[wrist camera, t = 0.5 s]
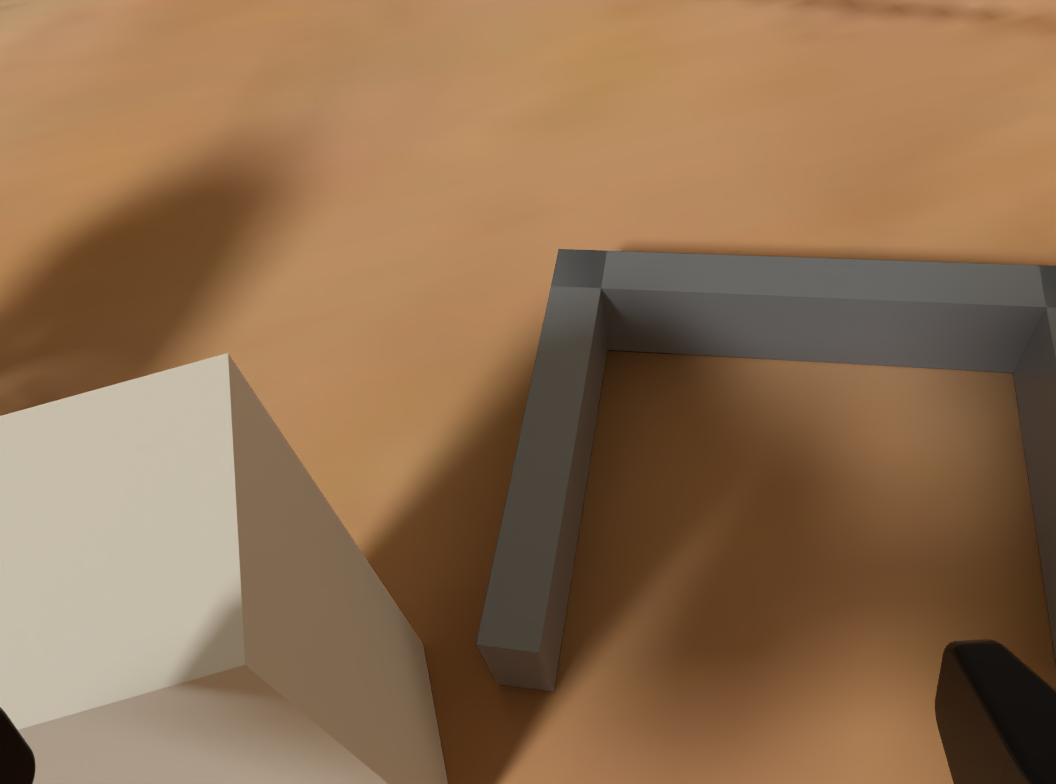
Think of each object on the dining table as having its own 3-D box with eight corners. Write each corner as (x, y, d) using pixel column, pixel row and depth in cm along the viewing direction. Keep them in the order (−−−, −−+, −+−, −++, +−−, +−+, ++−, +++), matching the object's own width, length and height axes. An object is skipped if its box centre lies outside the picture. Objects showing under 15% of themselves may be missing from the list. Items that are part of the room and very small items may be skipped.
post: (458, 842, 22) (245, 665, 11) (253, 902, 21) (-162, 781, 11) (423, 644, 24) (227, 352, 14) (242, 695, 24) (-94, 441, 14)
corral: (1143, 773, 20) (1207, 738, 18) (497, 684, 24) (475, 644, 21) (1061, 335, 27) (1098, 267, 25) (568, 311, 30) (558, 249, 28)
